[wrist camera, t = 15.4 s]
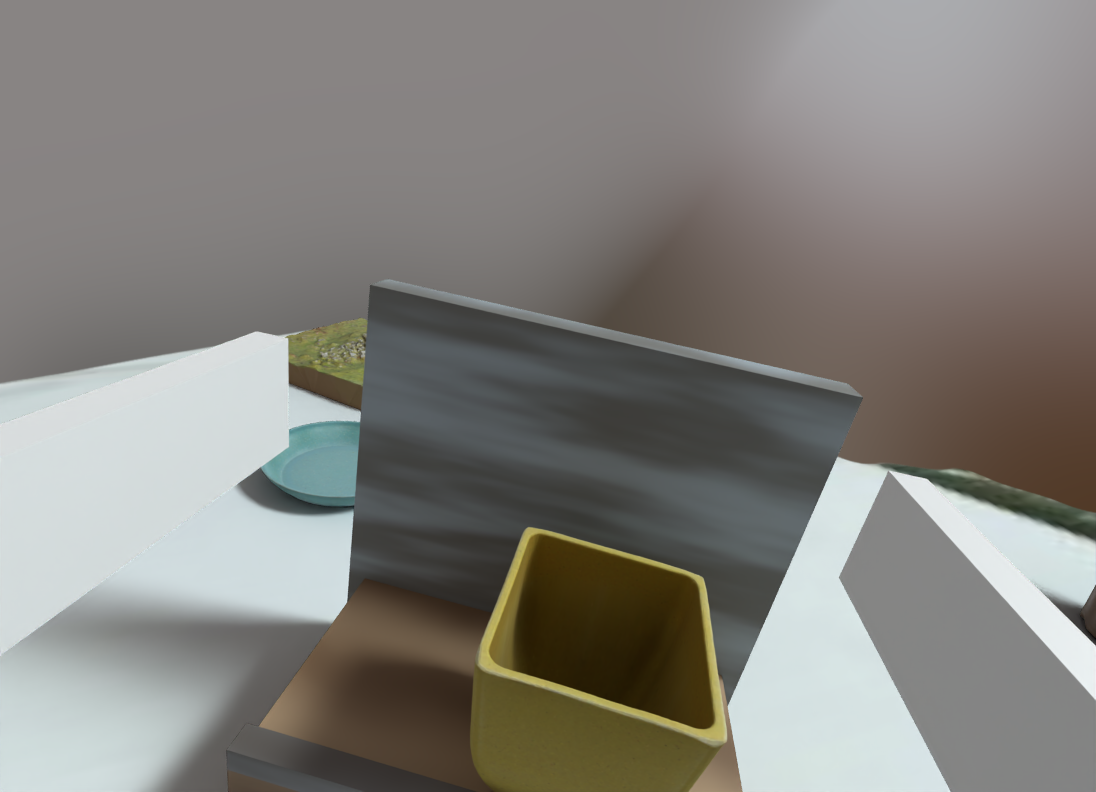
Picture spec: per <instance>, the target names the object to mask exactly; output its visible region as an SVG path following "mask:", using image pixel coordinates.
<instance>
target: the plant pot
mask: <svg viewBox="0 0 1096 792" xmlns="http://www.w3.org/2000/svg"><path fill="white" fill-rule="evenodd" d="M1080 616H1081V617H1082V618H1084V620H1085V627H1086V629H1087V630H1088V631H1089V632H1090V633H1091V634H1092V635H1093V636H1094V637H1095V638H1096V585H1095V587H1094V589H1093V591H1092V593H1091V594H1090V596H1089V598H1088V600H1087V602H1086V604H1085V605H1084V607H1083V608H1082V610H1081V613H1080Z"/></svg>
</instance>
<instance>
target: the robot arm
mask: <svg viewBox="0 0 1096 792" xmlns="http://www.w3.org/2000/svg"><path fill="white" fill-rule="evenodd" d="M288 447H289V374H288V338H284V337H279V336H275V335H270V334H265V333H261V332H254V333H251V334H248V335H246V336H243V337H240V338H237V339H235V340H232V341H229V342H226V343H223V344H220V345H218V346H215V347H212V348H209V349H207V350H204V351H201V352H198V353H196V354H193V355H190V356H187V357H184V358H182V359H179V360H176V361H173V362H171V363H168V364H165V365H162V366H159V367H157V368H154V369H151V370H148V371H146V372H143V373H140V374H137V375H135V376H132V377H129V378H126V379H123V380H121V381H118V382H115V383H112V384H110V385H107V386H104V387H101V388H98V389H96V390H93V391H90V392H87V393H85V394H82V395H79V396H76V397H74V398H71V399H68V400H65V401H62V402H60V403H57V404H54V405H51V406H49V407H46V408H43V409H40V410H37V411H35V412H32V413H29V414H26V415H24V416H21V417H18V418H15V419H13V420H10V421H7V422H4V423H1V424H0V656H1V655H2V654H3V653H5V652H6V651H7V650H9V649H10V648H12V647H13V646H14V645H16V644H17V643H18V642H20V641H21V640H23V639H24V638H25V637H27V636H28V635H30V634H31V633H32V632H34V631H35V630H36V629H38V628H39V627H41V626H42V625H43V624H45V623H46V622H48V621H49V620H50V619H52V618H53V617H54V616H56V615H57V614H59V613H60V612H61V611H63V610H64V609H65V608H67V607H68V606H70V605H71V604H72V603H74V602H75V601H77V600H78V599H79V598H81V597H82V596H83V595H85V594H86V593H88V592H89V591H90V590H92V589H93V588H94V587H96V586H97V585H99V584H100V583H101V582H103V581H104V580H106V579H107V578H108V577H110V576H111V575H112V574H114V573H115V572H117V571H118V570H119V569H121V568H122V567H123V566H125V565H126V564H128V563H129V562H130V561H132V560H133V559H135V558H136V557H137V556H139V555H140V554H141V553H143V552H144V551H146V550H147V549H148V548H150V547H151V546H152V545H154V544H155V543H157V542H158V541H159V540H161V539H162V538H164V537H165V536H166V535H168V534H169V533H170V532H172V531H173V530H175V529H176V528H177V527H179V526H180V525H182V524H183V523H184V522H186V521H187V520H188V519H190V518H191V517H193V516H194V515H195V514H197V513H198V512H199V511H201V510H202V509H204V508H205V507H206V506H208V505H209V504H211V503H212V502H213V501H215V500H216V499H217V498H219V497H220V496H222V495H223V494H224V493H226V492H227V491H228V490H230V489H231V488H233V487H234V486H235V485H237V484H238V483H240V482H241V481H242V480H244V479H245V478H246V477H248V476H249V475H251V474H252V473H253V472H255V471H256V470H257V469H259V468H260V467H262V466H263V465H264V464H266V463H267V462H269V461H270V460H271V459H273V458H274V457H275V456H277V455H278V454H280V453H281V452H282V451H284V450H285V449H287V448H288ZM839 579H840V580H841V582H842V584H843V586H844V588H845V590H846V592H847V594H848V596H849V598H850V600H851V601H852V603H853V605H854V607H855V609H856V611H857V613H858V615H859V617H860V619H861V621H862V623H863V624H864V626H865V628H866V630H867V632H868V634H869V636H870V638H871V640H872V642H873V644H874V645H875V647H876V649H877V651H878V653H879V655H880V657H881V659H882V661H883V663H884V665H885V667H886V668H887V670H888V672H889V674H890V676H891V678H892V680H893V682H894V684H895V686H896V688H897V690H898V691H899V693H900V695H901V697H902V699H903V701H904V703H905V705H906V707H907V709H908V711H909V712H910V714H911V716H912V718H913V720H914V722H915V724H916V726H917V728H918V730H919V732H920V734H921V735H922V737H923V739H924V741H925V743H926V745H927V747H928V749H929V751H930V753H931V755H932V756H933V758H934V760H935V762H936V764H937V766H938V768H939V770H940V772H941V774H942V776H943V778H944V779H945V781H946V783H947V785H948V787H949V789H950V791H951V792H1096V646H1095V645H1094V644H1093V643H1092V642H1091V641H1090V640H1089V639H1088V638H1087V637H1086V636H1085V635H1084V634H1083V633H1082V632H1081V631H1080V630H1079V629H1078V628H1077V627H1076V626H1075V625H1074V624H1073V623H1072V622H1071V621H1070V620H1069V619H1068V618H1067V617H1066V616H1065V615H1064V614H1063V613H1062V612H1061V611H1060V610H1059V609H1058V608H1057V607H1056V606H1055V605H1054V604H1053V603H1052V602H1051V601H1050V600H1049V599H1048V598H1047V597H1046V596H1045V595H1044V594H1043V593H1042V592H1041V591H1040V590H1039V589H1038V588H1037V587H1036V586H1035V585H1034V584H1033V583H1032V582H1031V581H1030V580H1029V579H1028V578H1027V577H1026V576H1025V575H1024V574H1023V573H1022V572H1021V571H1020V570H1019V569H1018V568H1017V567H1016V566H1015V565H1014V564H1013V563H1012V562H1010V561H1009V560H1008V559H1007V558H1006V557H1005V556H1004V555H1003V554H1002V553H1001V552H1000V551H999V550H998V549H997V548H996V547H995V546H994V545H993V544H992V543H991V542H990V541H989V540H988V539H987V538H986V537H985V536H984V535H983V534H982V533H981V532H980V531H979V530H978V529H977V528H976V527H975V526H974V525H973V524H972V523H971V522H970V521H969V520H968V519H967V518H966V517H965V516H964V515H963V514H962V513H961V512H960V511H959V510H958V509H957V508H956V507H955V506H954V505H953V504H952V503H951V502H950V501H949V500H948V499H947V498H946V497H945V496H944V495H943V494H942V493H941V492H940V491H939V490H938V489H937V488H936V487H935V486H934V485H933V484H932V483H931V482H930V481H929V480H928V479H924V478H919V477H915V476H910V475H906V474H901V473H897V472H892V471H888V473H887V475H886V478H885V480H884V482H883V484H882V486H881V488H880V490H879V493H878V495H877V497H876V499H875V501H874V503H873V505H872V508H871V510H870V512H869V514H868V516H867V518H866V521H865V523H864V525H863V527H862V529H861V531H860V533H859V536H858V538H857V540H856V542H855V544H854V546H853V548H852V551H851V553H850V555H849V557H848V559H847V561H846V563H845V566H844V568H843V570H842V572H841V574H840V576H839Z"/></svg>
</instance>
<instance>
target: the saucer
mask: <svg viewBox="0 0 1096 792" xmlns="http://www.w3.org/2000/svg"><path fill="white" fill-rule="evenodd" d="M359 433H360V422H355V421H353V422H352V421H326V422H317V423H311V424H306V425H302V426H298V427H294V428H292V429H289V447H288V448H287V449H285V450H284V451H282V452H281V453H280V454H278V455H277V456H275V457H274V458H273V459H271V460H270V461H269V462H267V463H266V464H264V465H263V466H262V467H260V468H261V470H262V471H263V473H264V474H265V475H266V476H267V478H268V479H269V480H270V481H271V482H272V483H273V484H275V485H276V486H277V487H278V488H280V489H281V490H283V491H284V492H286V493H288V494H290V495H292V496H293V497H295V498H297V499H300V500H302V501H305V502H308V503H312V504H316V505H322V506H333V507H343V506H354V503H355V489H356V475H357V461H358V447H359Z"/></svg>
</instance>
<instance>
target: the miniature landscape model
mask: <svg viewBox="0 0 1096 792" xmlns="http://www.w3.org/2000/svg"><path fill="white" fill-rule="evenodd" d="M367 322H368V321H367V320H365V319H363V318H359V319H358V320H352V321H343V322H340V323H339V324H338V323H335V324H333V325H330V326H326V327H321V328H319V327H318V328H316V329H312V330H309V331H305V332H302V333H299V334H297V335H290V336H287V337H285V338H288V374H289V383H291V384H293V385H296V386H298V387H301V388H304V389H306V390H309V391H312V392H314V393H317V394H320V395H322V396H325V397H328V398H330V399H333V400H336V401H338V402H341V403H344V404H346V405H349V406H351V407H354V408H357V409H359V410H361V405H362V391H363V377H364V364H365V350H366V336H367Z"/></svg>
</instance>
